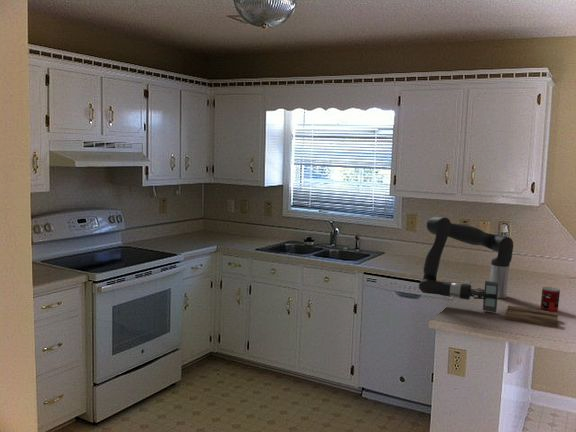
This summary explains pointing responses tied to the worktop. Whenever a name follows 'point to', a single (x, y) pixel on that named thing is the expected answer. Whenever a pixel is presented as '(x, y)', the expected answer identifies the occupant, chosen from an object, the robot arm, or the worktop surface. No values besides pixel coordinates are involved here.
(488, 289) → the grey rectangular block
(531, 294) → the worktop surface
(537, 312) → the brown grooved block
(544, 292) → the canned food
